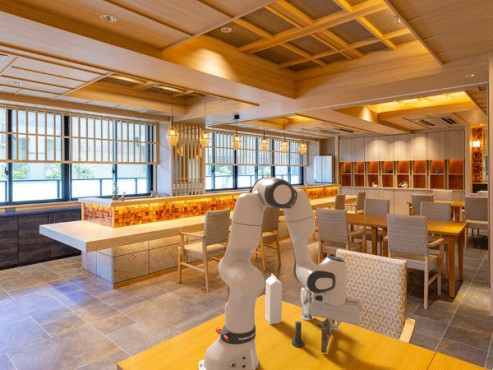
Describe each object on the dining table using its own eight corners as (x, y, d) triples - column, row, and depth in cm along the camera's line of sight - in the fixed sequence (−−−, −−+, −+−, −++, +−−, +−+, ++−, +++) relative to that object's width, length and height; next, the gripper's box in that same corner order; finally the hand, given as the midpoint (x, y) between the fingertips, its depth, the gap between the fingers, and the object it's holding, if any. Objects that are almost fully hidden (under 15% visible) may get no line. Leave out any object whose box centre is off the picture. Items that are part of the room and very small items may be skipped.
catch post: (297, 348, 133) (297, 326, 132) (289, 342, 137) (289, 321, 137) (306, 344, 135) (307, 323, 135) (298, 339, 140) (299, 318, 139)
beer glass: (314, 314, 162) (314, 285, 161) (315, 321, 155) (316, 290, 154) (299, 313, 163) (300, 284, 162) (300, 320, 156) (301, 289, 155)
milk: (269, 324, 152) (270, 278, 150) (265, 318, 158) (265, 273, 156) (281, 322, 154) (282, 276, 152) (276, 316, 160) (277, 272, 158)
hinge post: (329, 332, 146) (329, 308, 145) (316, 324, 152) (317, 301, 151) (338, 328, 149) (339, 305, 148) (326, 321, 155) (326, 298, 155)
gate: (329, 328, 147) (329, 307, 146) (335, 329, 146) (335, 308, 145) (321, 352, 129) (321, 328, 128) (328, 353, 128) (328, 330, 127)
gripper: (363, 297, 131) (362, 331, 132) (312, 289, 140) (311, 321, 141) (361, 304, 126) (360, 339, 127) (308, 295, 134) (308, 328, 135)
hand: (334, 329), depth 134 cm, fingers closed
